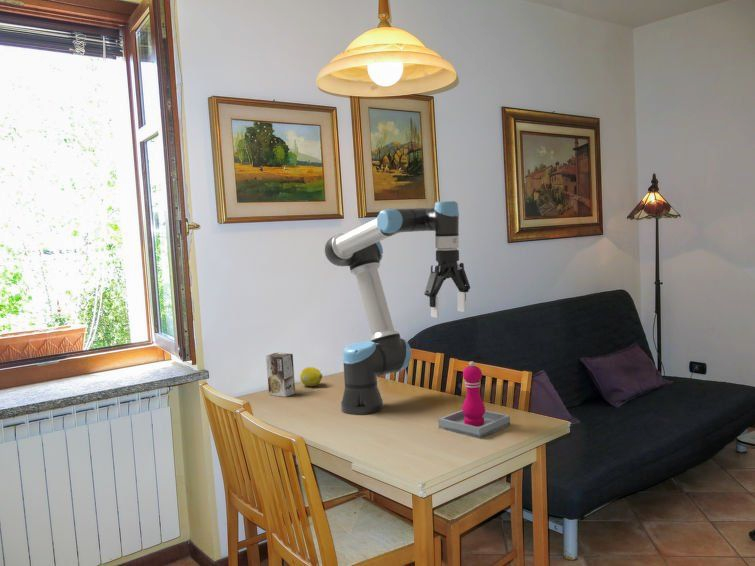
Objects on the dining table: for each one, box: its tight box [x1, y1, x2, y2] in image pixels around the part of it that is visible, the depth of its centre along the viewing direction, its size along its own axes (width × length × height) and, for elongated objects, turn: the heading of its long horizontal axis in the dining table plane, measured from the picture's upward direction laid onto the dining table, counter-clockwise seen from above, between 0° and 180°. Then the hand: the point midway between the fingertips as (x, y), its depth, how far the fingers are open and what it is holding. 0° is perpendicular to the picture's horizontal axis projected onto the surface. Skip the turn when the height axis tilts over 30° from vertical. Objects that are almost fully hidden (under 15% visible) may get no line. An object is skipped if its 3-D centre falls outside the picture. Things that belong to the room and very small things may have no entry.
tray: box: [438, 409, 511, 439], centre depth 197 cm, size 16×16×3 cm
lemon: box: [299, 366, 323, 387], centre depth 259 cm, size 11×8×8 cm
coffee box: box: [265, 352, 296, 398], centre depth 248 cm, size 9×6×16 cm
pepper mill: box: [461, 361, 486, 426], centre depth 196 cm, size 7×7×20 cm
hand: (448, 314), depth 203 cm, fingers open, 13 cm apart
